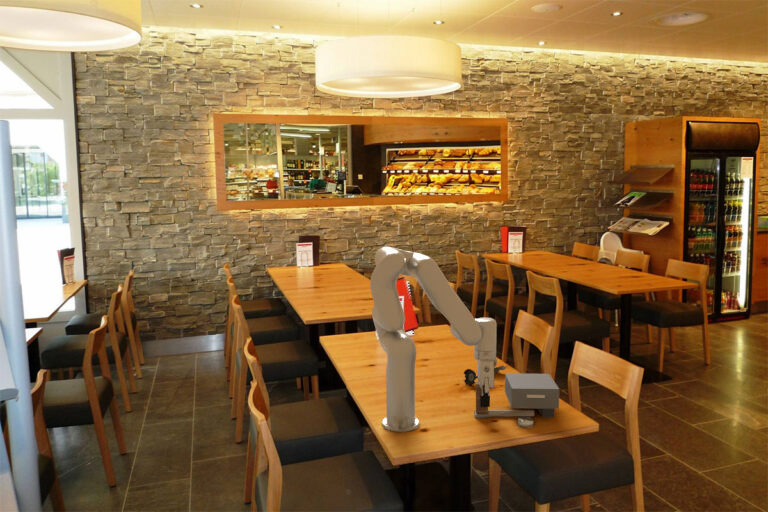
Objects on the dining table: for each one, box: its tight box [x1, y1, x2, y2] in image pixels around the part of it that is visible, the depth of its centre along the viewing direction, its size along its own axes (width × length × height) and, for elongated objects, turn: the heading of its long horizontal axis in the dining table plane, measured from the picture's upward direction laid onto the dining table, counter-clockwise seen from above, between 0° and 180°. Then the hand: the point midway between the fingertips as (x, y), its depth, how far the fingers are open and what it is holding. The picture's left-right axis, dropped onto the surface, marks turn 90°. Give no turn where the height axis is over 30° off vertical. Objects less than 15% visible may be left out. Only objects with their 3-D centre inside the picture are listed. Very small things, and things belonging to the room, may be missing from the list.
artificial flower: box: [462, 358, 507, 386], centre depth 247 cm, size 9×22×10 cm, turn 129°
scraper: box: [473, 381, 535, 419], centre depth 207 cm, size 4×20×12 cm, turn 87°
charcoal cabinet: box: [504, 372, 560, 418], centre depth 211 cm, size 17×16×11 cm
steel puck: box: [517, 416, 534, 429], centre depth 200 cm, size 5×5×2 cm
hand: (484, 404), depth 207 cm, fingers closed on scraper, 2 cm apart
